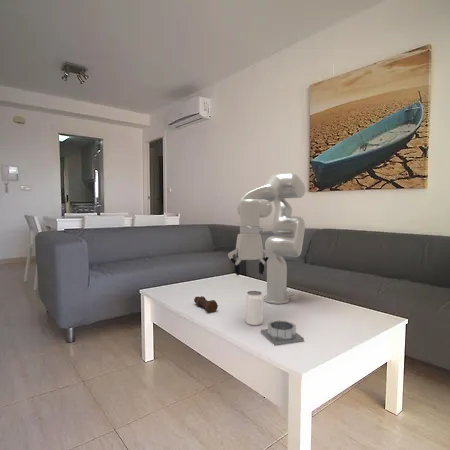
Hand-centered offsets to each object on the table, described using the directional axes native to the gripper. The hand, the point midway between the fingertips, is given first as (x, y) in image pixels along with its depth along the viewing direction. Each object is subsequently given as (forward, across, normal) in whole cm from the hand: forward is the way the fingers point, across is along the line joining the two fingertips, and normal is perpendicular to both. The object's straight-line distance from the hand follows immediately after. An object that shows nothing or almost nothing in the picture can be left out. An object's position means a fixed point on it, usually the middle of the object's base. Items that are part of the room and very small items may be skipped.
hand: (249, 274), depth 119 cm
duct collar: (+19, -7, +16) cm, 26 cm away
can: (+19, -2, +1) cm, 19 cm away
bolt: (+20, +14, -21) cm, 32 cm away
